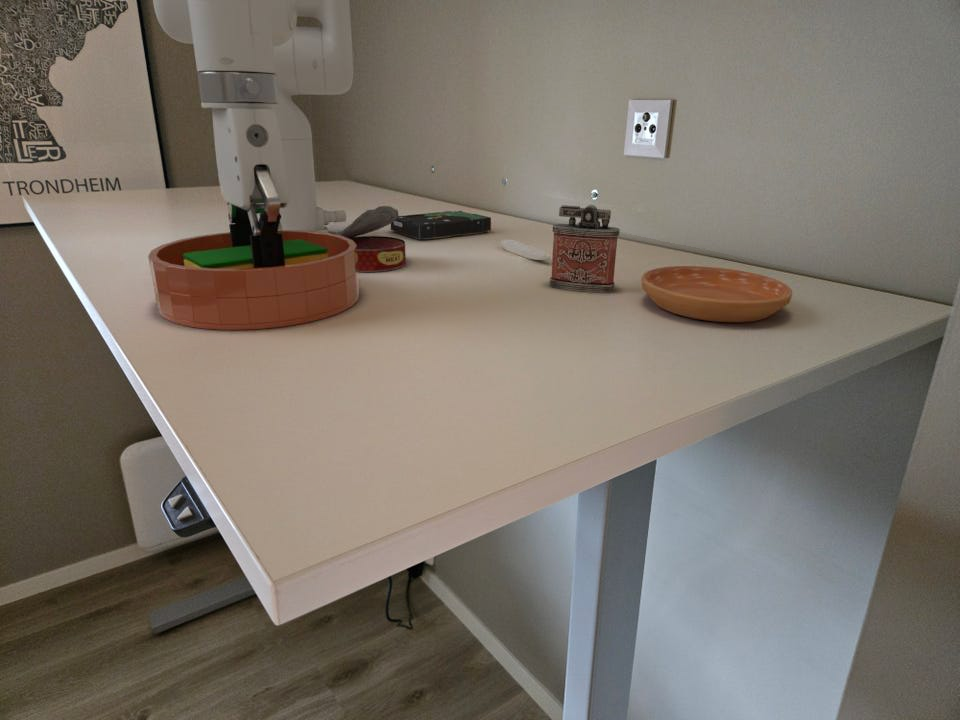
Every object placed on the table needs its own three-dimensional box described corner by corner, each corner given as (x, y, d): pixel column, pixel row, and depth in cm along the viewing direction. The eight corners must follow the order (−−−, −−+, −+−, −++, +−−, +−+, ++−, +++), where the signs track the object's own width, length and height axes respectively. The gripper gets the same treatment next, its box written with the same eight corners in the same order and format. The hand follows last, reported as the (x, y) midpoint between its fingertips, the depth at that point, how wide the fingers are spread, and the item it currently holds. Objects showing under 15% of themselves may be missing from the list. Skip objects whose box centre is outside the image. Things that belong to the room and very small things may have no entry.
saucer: (738, 286, 82) (742, 263, 81) (820, 325, 68) (826, 298, 67) (618, 290, 80) (620, 266, 79) (676, 332, 65) (680, 303, 64)
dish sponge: (330, 268, 74) (328, 247, 73) (206, 287, 66) (203, 264, 65) (302, 258, 79) (301, 238, 79) (185, 274, 71) (181, 252, 70)
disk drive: (420, 242, 107) (492, 232, 115) (420, 225, 106) (492, 216, 114) (389, 232, 114) (458, 223, 123) (388, 216, 113) (458, 208, 122)
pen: (545, 266, 91) (546, 254, 91) (498, 247, 103) (498, 237, 102) (555, 265, 92) (555, 253, 91) (507, 246, 103) (507, 236, 103)
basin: (319, 268, 88) (315, 224, 86) (390, 308, 71) (388, 254, 69) (143, 291, 77) (134, 240, 75) (180, 344, 60) (170, 281, 58)
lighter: (615, 287, 81) (623, 205, 77) (611, 294, 78) (619, 209, 75) (552, 281, 84) (557, 201, 80) (546, 287, 81) (550, 205, 77)
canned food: (353, 304, 88) (313, 243, 83) (351, 278, 97) (314, 221, 92) (426, 265, 88) (390, 200, 83) (417, 242, 97) (384, 183, 92)
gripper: (305, 93, 61) (319, 276, 68) (252, 95, 75) (268, 248, 81) (222, 91, 57) (246, 285, 64) (182, 94, 71) (205, 254, 77)
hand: (258, 263), depth 72 cm, fingers closed on dish sponge, 7 cm apart
